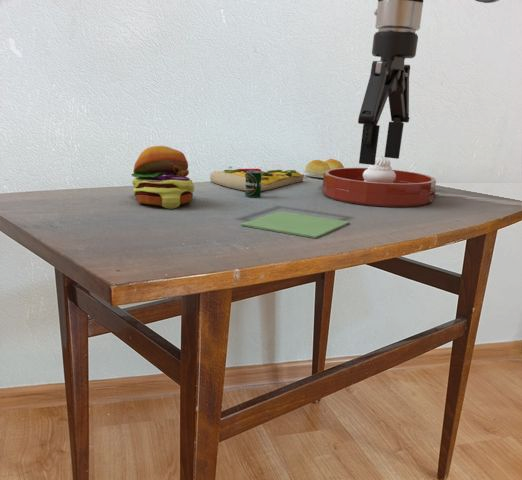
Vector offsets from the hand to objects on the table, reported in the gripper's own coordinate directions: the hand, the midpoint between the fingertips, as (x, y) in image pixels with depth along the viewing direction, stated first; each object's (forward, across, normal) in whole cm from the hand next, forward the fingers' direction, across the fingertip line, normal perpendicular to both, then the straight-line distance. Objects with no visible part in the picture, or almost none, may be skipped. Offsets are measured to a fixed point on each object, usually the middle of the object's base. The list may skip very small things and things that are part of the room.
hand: (379, 161), depth 110 cm
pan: (+7, 0, 0) cm, 7 cm away
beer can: (+7, +16, -18) cm, 25 cm away
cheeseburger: (+7, +32, -26) cm, 42 cm away
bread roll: (+7, -16, -18) cm, 25 cm away
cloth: (+7, +32, -1) cm, 33 cm away
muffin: (+6, 0, 0) cm, 6 cm away
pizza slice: (+7, +2, -23) cm, 24 cm away
